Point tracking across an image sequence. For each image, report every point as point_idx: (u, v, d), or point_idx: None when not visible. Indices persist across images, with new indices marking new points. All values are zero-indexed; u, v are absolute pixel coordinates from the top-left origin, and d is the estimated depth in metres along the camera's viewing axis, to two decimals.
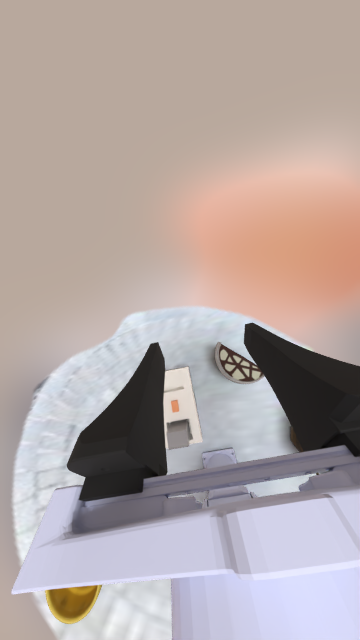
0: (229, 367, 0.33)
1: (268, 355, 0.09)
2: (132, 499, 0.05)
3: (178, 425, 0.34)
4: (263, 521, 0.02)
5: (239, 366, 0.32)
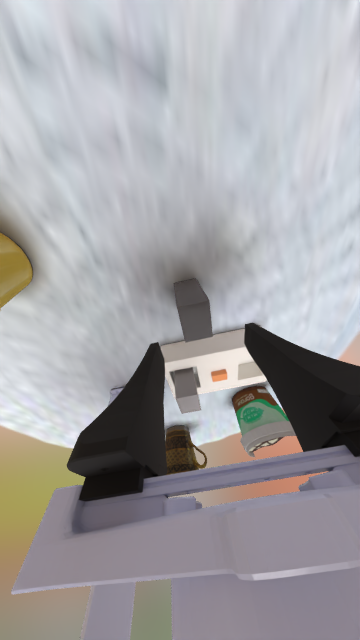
0: None
1: (267, 355, 0.09)
2: (132, 499, 0.05)
3: None
4: (263, 521, 0.02)
5: (263, 441, 0.28)
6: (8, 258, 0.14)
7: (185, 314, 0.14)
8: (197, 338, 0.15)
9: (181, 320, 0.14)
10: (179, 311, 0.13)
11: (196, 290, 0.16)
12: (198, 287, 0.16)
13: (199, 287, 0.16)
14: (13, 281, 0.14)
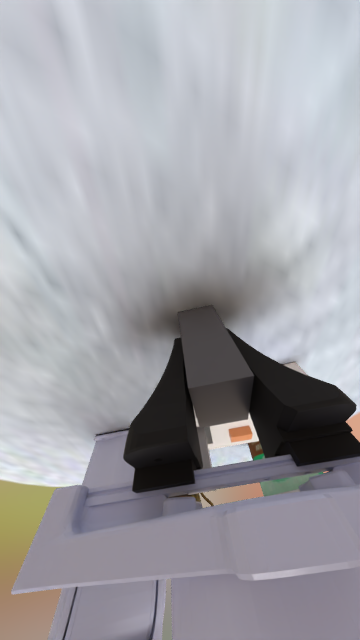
0: None
1: None
2: (132, 499, 0.05)
3: None
4: (263, 521, 0.02)
5: None
6: None
7: (204, 396, 0.07)
8: (221, 422, 0.09)
9: (195, 404, 0.07)
10: (192, 393, 0.07)
11: (218, 336, 0.09)
12: (220, 328, 0.10)
13: (223, 329, 0.09)
14: None
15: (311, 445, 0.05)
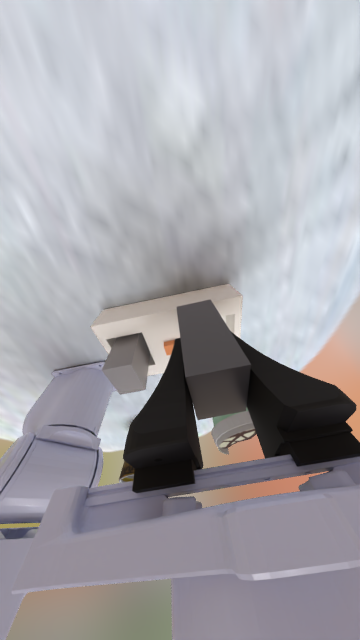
0: None
1: None
2: (132, 499, 0.05)
3: (143, 357, 0.18)
4: (263, 521, 0.02)
5: (237, 435, 0.23)
6: None
7: (201, 386, 0.07)
8: (219, 414, 0.09)
9: (192, 394, 0.07)
10: (189, 382, 0.07)
11: (216, 328, 0.09)
12: (218, 320, 0.10)
13: (221, 321, 0.09)
14: None
15: (311, 445, 0.05)
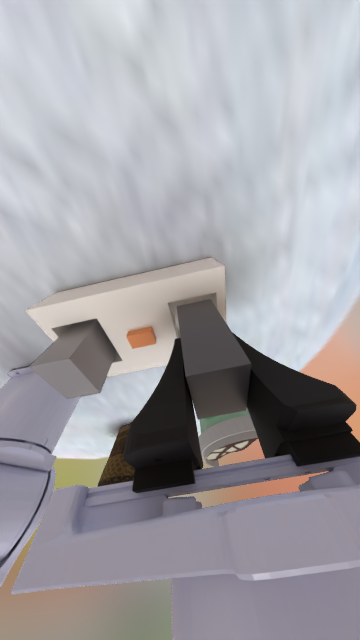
0: None
1: None
2: (132, 499, 0.05)
3: (101, 351, 0.14)
4: (263, 521, 0.02)
5: (228, 446, 0.19)
6: None
7: (202, 385, 0.07)
8: (219, 413, 0.09)
9: (192, 393, 0.07)
10: (189, 381, 0.07)
11: (216, 327, 0.09)
12: (218, 320, 0.10)
13: (221, 321, 0.09)
14: None
15: (311, 445, 0.05)
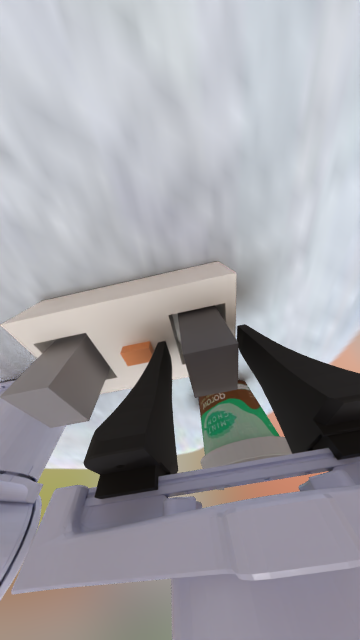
0: None
1: (258, 357, 0.09)
2: (132, 499, 0.05)
3: (92, 370, 0.12)
4: (263, 521, 0.02)
5: None
6: None
7: (197, 363, 0.08)
8: (213, 392, 0.10)
9: (189, 371, 0.08)
10: (186, 360, 0.08)
11: (211, 316, 0.10)
12: (213, 310, 0.11)
13: (215, 311, 0.11)
14: None
15: (351, 438, 0.05)
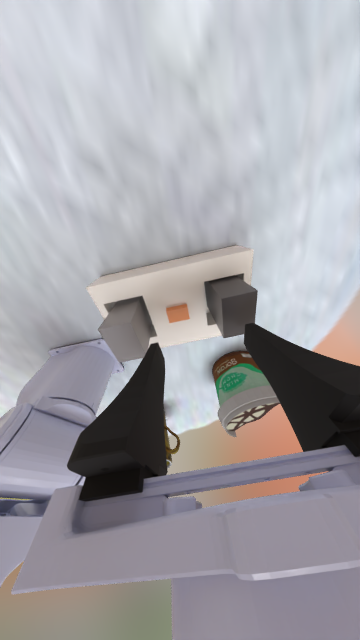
0: None
1: (267, 355, 0.09)
2: (132, 499, 0.05)
3: (144, 324, 0.16)
4: (263, 521, 0.02)
5: (246, 415, 0.21)
6: None
7: (229, 306, 0.12)
8: (237, 333, 0.14)
9: (223, 313, 0.13)
10: (223, 303, 0.12)
11: (235, 281, 0.14)
12: (235, 278, 0.15)
13: (237, 278, 0.15)
14: None
15: None
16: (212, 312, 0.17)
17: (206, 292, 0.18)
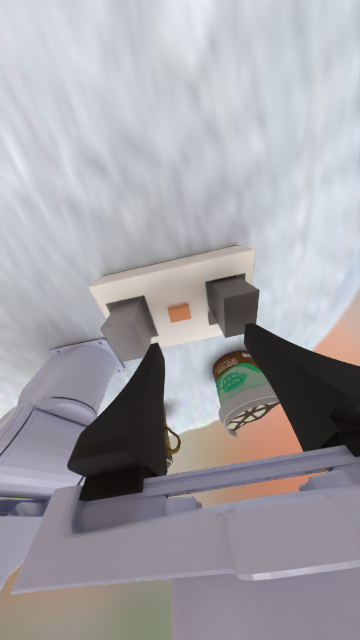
0: None
1: (267, 355, 0.09)
2: (132, 499, 0.05)
3: (145, 324, 0.16)
4: (263, 521, 0.02)
5: (247, 414, 0.21)
6: None
7: (231, 306, 0.12)
8: (238, 333, 0.14)
9: (225, 313, 0.13)
10: (225, 302, 0.12)
11: (236, 281, 0.14)
12: (237, 277, 0.15)
13: (238, 278, 0.15)
14: None
15: None
16: (213, 312, 0.17)
17: (207, 292, 0.18)
